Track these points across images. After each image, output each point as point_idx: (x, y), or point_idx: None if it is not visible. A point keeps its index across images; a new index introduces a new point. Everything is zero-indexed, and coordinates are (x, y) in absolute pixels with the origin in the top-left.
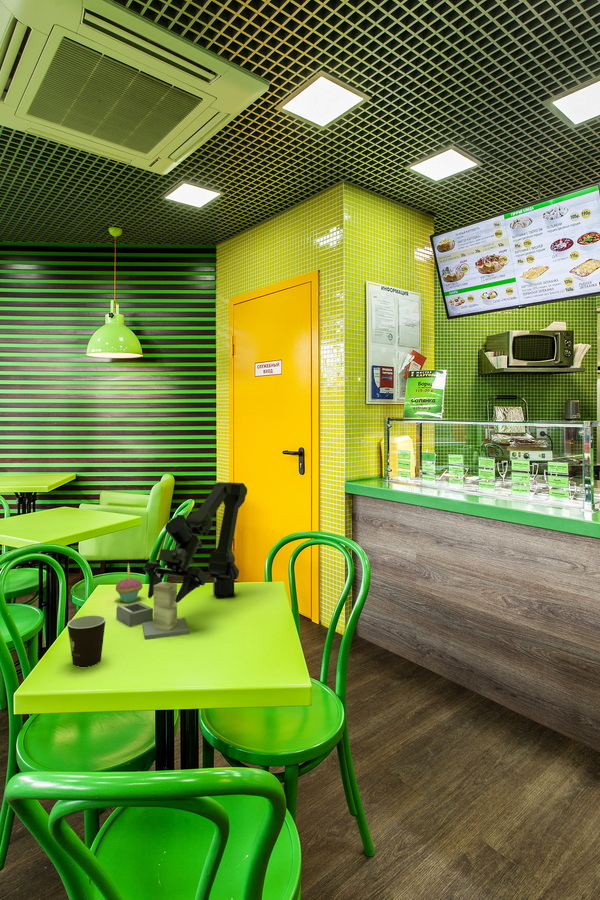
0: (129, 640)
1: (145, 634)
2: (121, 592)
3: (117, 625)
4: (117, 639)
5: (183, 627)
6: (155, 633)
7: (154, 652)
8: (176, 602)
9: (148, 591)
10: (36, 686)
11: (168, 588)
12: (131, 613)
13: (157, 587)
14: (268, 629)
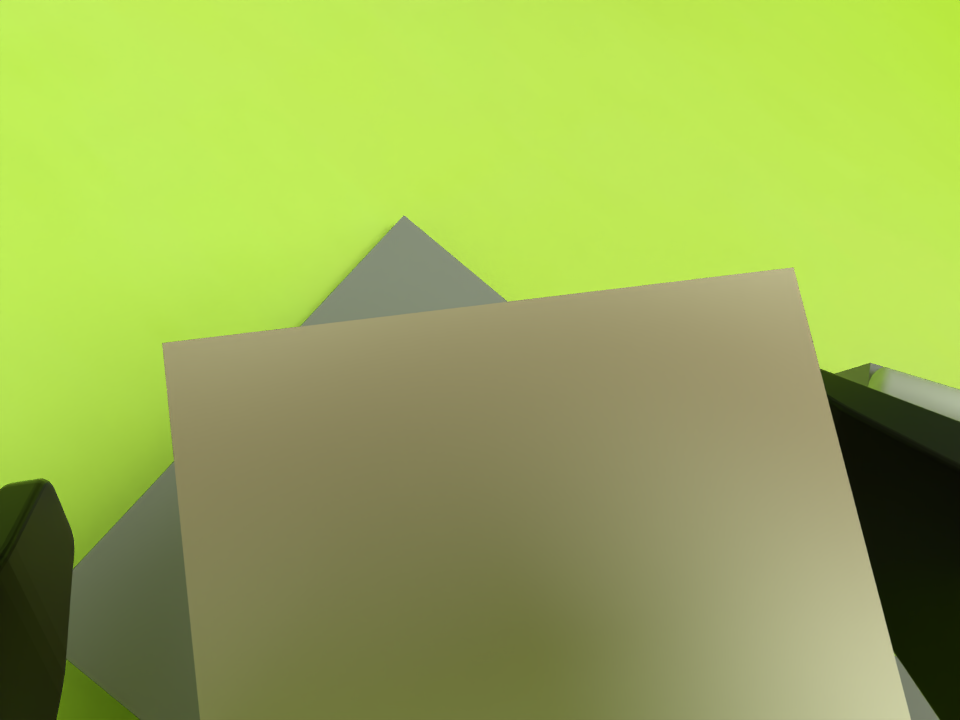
0: (507, 146)
1: (420, 241)
2: None
3: (896, 351)
4: (618, 114)
5: (166, 647)
6: (346, 317)
7: (67, 46)
8: (63, 525)
9: (898, 400)
10: None
11: (164, 346)
12: (874, 385)
13: (633, 299)
14: None
